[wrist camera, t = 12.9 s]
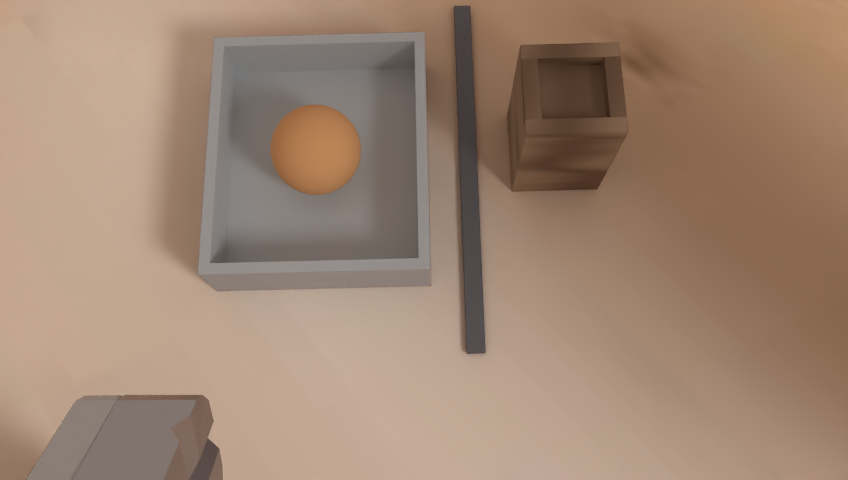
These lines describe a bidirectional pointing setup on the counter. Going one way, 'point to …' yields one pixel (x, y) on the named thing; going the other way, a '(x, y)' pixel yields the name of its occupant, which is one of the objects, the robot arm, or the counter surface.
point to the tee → (565, 116)
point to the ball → (315, 149)
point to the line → (469, 183)
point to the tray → (328, 213)
